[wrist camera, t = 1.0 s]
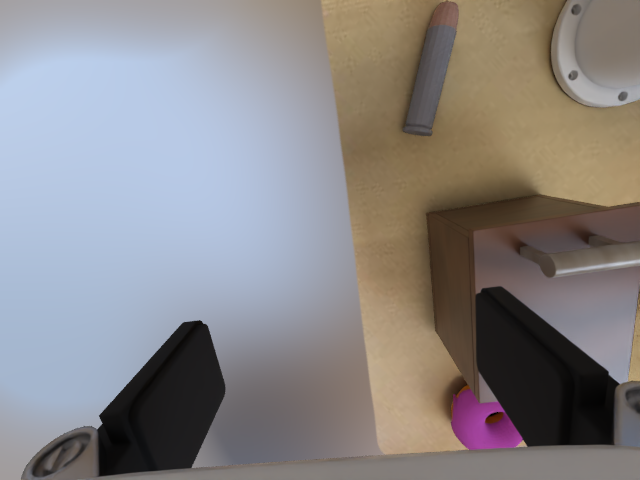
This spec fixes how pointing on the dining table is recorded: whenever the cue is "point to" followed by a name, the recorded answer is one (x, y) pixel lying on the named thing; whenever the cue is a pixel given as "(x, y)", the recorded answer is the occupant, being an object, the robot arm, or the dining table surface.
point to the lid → (567, 278)
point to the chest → (454, 264)
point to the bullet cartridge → (432, 69)
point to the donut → (481, 423)
